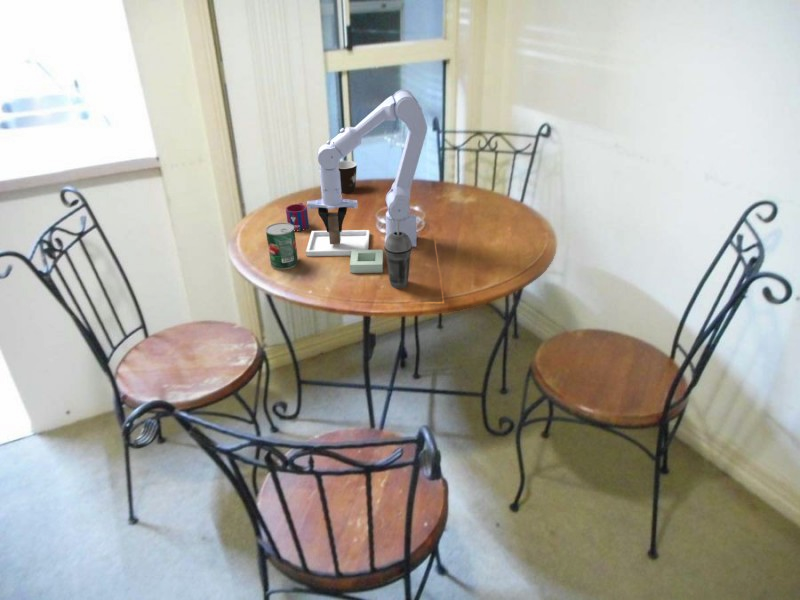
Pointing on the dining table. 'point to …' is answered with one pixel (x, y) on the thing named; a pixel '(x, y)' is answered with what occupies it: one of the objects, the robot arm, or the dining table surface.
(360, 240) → the tray
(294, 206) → the cup
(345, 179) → the coffee mug
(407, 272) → the beverage cup
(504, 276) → the dining table surface
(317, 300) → the dining table surface
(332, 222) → the walnut peg
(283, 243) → the canned tomato
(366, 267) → the mint square peg hole
